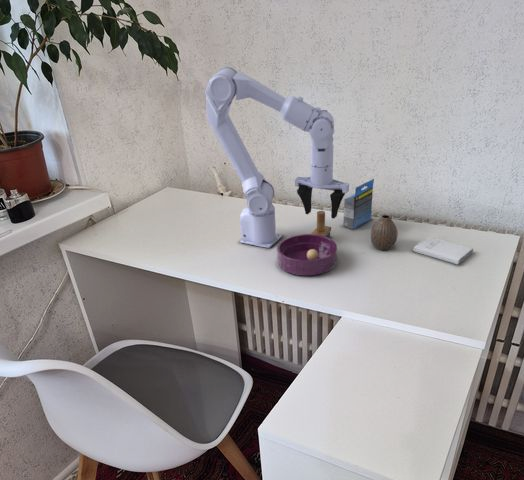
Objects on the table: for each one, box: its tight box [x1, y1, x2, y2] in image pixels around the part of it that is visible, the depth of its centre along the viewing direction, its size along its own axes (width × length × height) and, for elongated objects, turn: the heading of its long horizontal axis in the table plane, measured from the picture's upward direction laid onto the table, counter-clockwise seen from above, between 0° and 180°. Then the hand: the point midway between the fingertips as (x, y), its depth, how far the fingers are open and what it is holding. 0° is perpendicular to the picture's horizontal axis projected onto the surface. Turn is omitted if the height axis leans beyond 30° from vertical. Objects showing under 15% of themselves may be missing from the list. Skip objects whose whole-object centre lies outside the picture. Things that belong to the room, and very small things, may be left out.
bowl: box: [276, 233, 338, 277], centre depth 131 cm, size 15×15×4 cm
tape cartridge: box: [343, 178, 375, 230], centre depth 146 cm, size 9×4×12 cm, turn 136°
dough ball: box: [307, 249, 318, 260], centre depth 131 cm, size 3×3×3 cm
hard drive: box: [412, 236, 474, 266], centre depth 132 cm, size 2×8×12 cm
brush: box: [309, 210, 332, 239], centre depth 139 cm, size 4×6×8 cm, turn 150°
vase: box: [370, 214, 399, 251], centre depth 134 cm, size 7×7×9 cm
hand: (321, 215), depth 137 cm, fingers open, 7 cm apart
